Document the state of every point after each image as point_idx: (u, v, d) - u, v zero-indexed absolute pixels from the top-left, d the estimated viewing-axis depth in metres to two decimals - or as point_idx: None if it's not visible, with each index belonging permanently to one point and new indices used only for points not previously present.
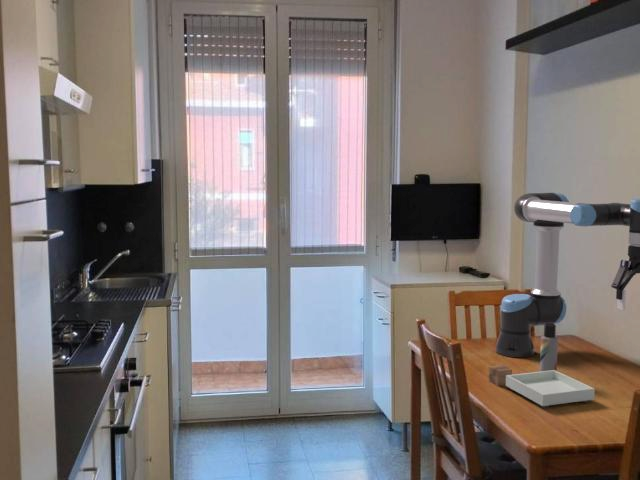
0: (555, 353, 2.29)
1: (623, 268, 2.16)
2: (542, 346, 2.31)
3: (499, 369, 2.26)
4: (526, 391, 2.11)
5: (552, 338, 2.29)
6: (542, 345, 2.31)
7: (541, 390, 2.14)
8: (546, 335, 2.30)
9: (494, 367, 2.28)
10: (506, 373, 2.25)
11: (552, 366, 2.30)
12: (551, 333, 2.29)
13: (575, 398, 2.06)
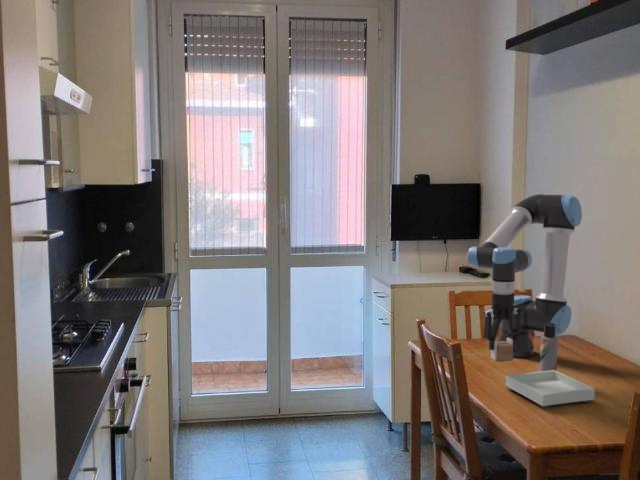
0: (555, 353, 2.29)
1: (487, 319, 2.23)
2: (542, 346, 2.31)
3: (500, 345, 2.25)
4: (526, 391, 2.11)
5: (552, 338, 2.29)
6: (542, 345, 2.31)
7: (541, 390, 2.14)
8: (546, 335, 2.30)
9: None
10: (507, 348, 2.24)
11: (552, 366, 2.30)
12: (551, 333, 2.29)
13: (575, 398, 2.06)
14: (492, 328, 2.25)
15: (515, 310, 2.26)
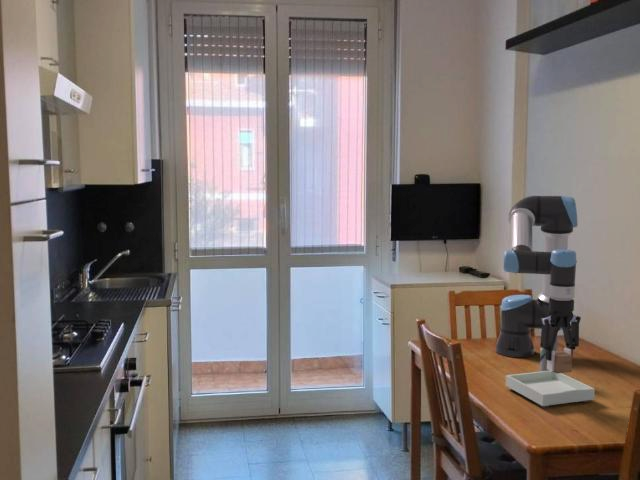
0: None
1: (545, 327, 2.06)
2: None
3: (558, 355, 2.08)
4: (526, 391, 2.11)
5: None
6: None
7: (541, 390, 2.14)
8: None
9: None
10: (566, 359, 2.07)
11: None
12: None
13: (575, 398, 2.06)
14: (549, 337, 2.08)
15: (574, 317, 2.09)
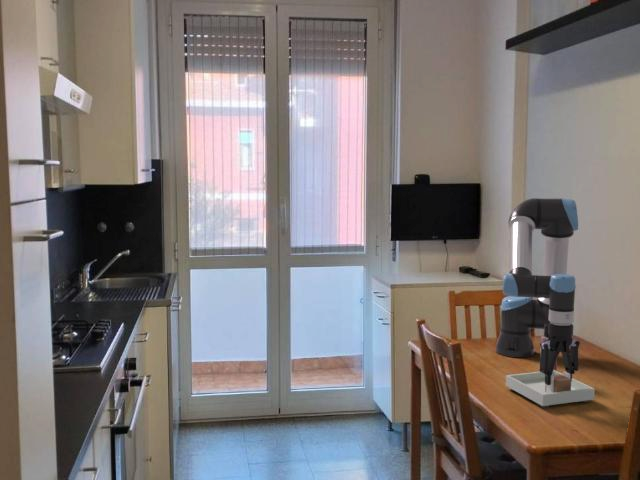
0: None
1: (544, 352, 2.07)
2: None
3: (557, 379, 2.09)
4: (526, 391, 2.11)
5: None
6: None
7: (541, 390, 2.14)
8: (546, 335, 2.30)
9: None
10: (565, 383, 2.08)
11: None
12: None
13: (575, 398, 2.06)
14: (548, 361, 2.09)
15: (573, 342, 2.10)
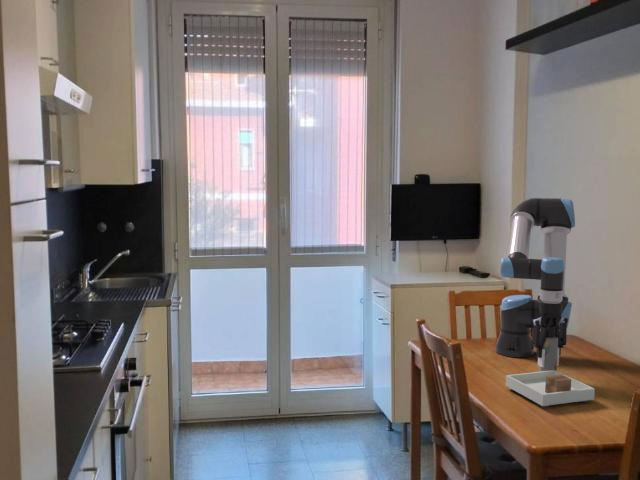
0: (555, 353, 2.29)
1: (536, 328, 2.28)
2: None
3: (557, 379, 2.09)
4: (526, 391, 2.11)
5: (552, 338, 2.29)
6: None
7: (541, 390, 2.14)
8: None
9: (551, 376, 2.11)
10: (565, 383, 2.08)
11: (552, 366, 2.30)
12: (551, 333, 2.29)
13: (575, 398, 2.06)
14: (540, 336, 2.30)
15: (562, 319, 2.32)
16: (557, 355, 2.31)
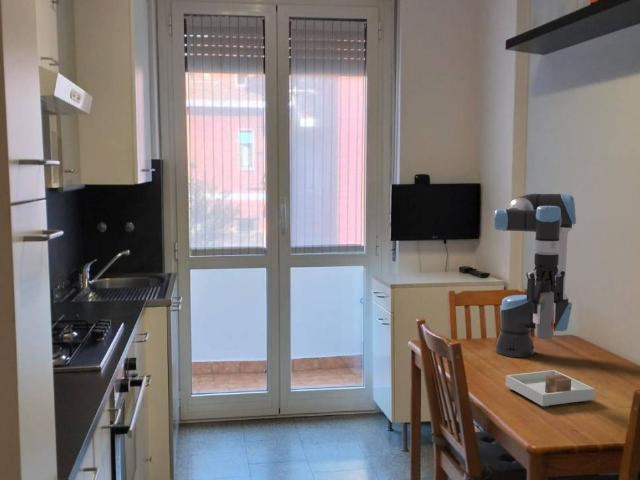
0: (551, 309, 2.14)
1: (530, 281, 2.12)
2: None
3: (557, 379, 2.09)
4: (526, 391, 2.11)
5: (547, 293, 2.13)
6: None
7: (541, 390, 2.14)
8: None
9: (551, 376, 2.11)
10: (565, 383, 2.08)
11: (548, 323, 2.14)
12: (546, 288, 2.13)
13: (575, 398, 2.06)
14: (535, 291, 2.15)
15: (559, 272, 2.16)
16: None
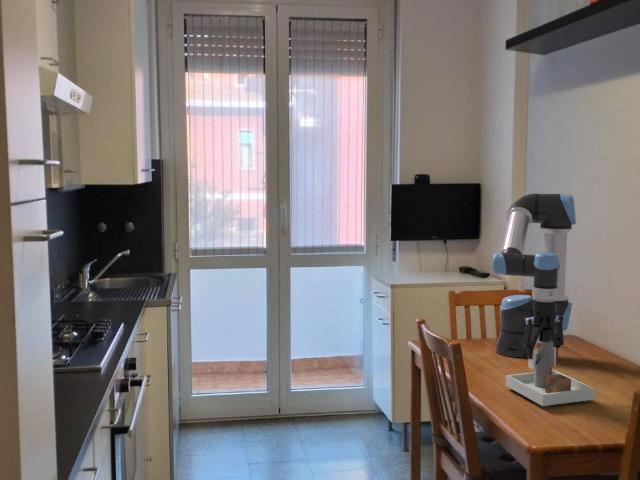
0: (550, 358, 2.16)
1: (528, 327, 2.14)
2: (536, 351, 2.17)
3: (557, 379, 2.09)
4: (526, 391, 2.11)
5: (547, 342, 2.15)
6: (536, 350, 2.17)
7: (541, 390, 2.14)
8: (541, 339, 2.16)
9: (551, 376, 2.11)
10: (565, 383, 2.08)
11: (547, 372, 2.16)
12: (546, 337, 2.15)
13: (575, 398, 2.06)
14: (531, 336, 2.16)
15: (557, 318, 2.17)
16: (554, 356, 2.18)
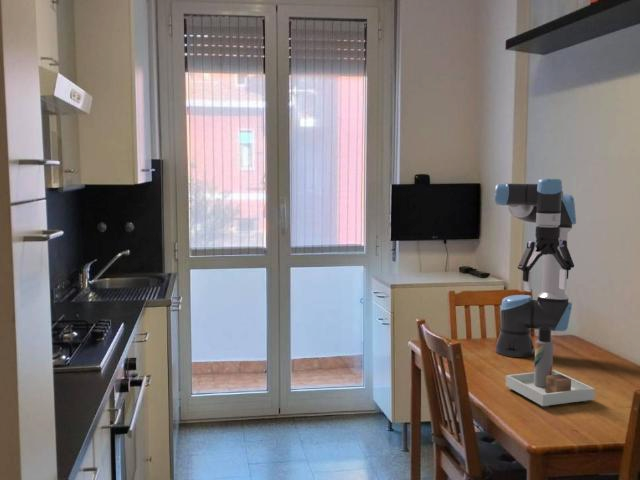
0: (550, 358, 2.16)
1: (529, 249, 2.11)
2: (536, 351, 2.17)
3: (557, 379, 2.09)
4: (526, 391, 2.11)
5: (547, 342, 2.15)
6: (536, 350, 2.17)
7: (541, 390, 2.14)
8: (541, 339, 2.16)
9: (551, 376, 2.11)
10: (565, 383, 2.08)
11: (547, 372, 2.16)
12: (546, 337, 2.15)
13: (575, 398, 2.06)
14: (530, 259, 2.13)
15: (560, 243, 2.15)
16: (564, 278, 2.16)
